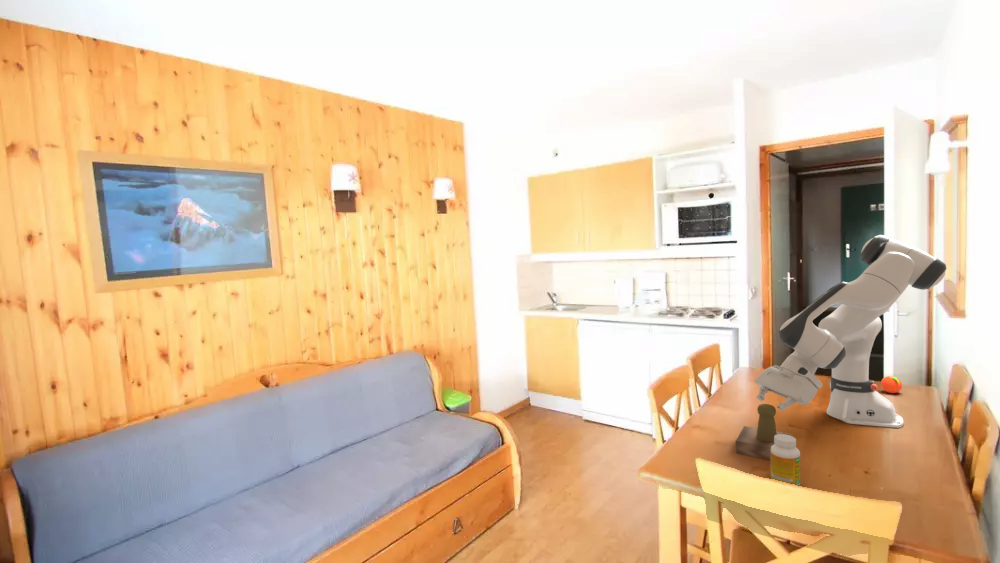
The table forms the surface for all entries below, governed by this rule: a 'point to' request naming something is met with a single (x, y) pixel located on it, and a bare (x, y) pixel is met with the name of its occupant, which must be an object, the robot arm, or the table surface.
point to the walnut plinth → (753, 444)
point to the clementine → (891, 384)
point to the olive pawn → (766, 423)
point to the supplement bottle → (785, 459)
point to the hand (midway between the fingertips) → (769, 404)
